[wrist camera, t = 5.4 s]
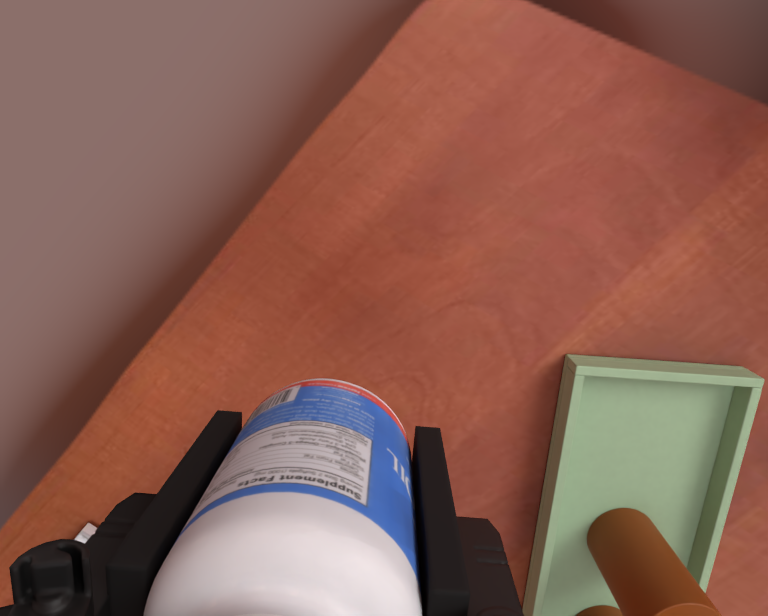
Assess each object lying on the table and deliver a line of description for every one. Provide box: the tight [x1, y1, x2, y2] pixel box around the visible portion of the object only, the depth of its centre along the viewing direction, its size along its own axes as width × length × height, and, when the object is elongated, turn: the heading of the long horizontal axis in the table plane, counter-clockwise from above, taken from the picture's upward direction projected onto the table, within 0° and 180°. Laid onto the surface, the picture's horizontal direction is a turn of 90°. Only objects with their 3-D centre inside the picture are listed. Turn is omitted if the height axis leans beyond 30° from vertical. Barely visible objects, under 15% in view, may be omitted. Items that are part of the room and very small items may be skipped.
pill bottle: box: [143, 378, 423, 616], centre depth 12 cm, size 6×5×10 cm
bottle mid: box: [587, 508, 721, 616], centre depth 30 cm, size 5×5×11 cm
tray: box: [522, 354, 764, 616], centre depth 35 cm, size 25×11×2 cm, turn 176°
